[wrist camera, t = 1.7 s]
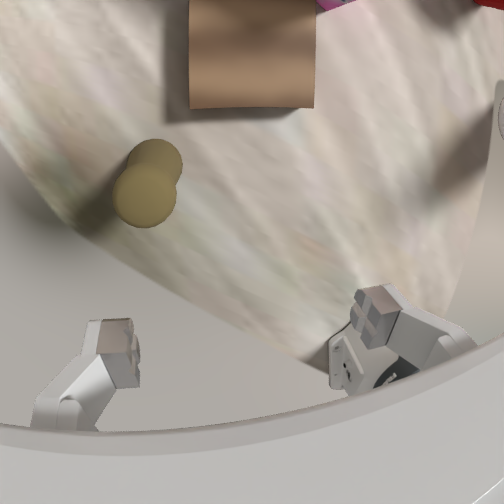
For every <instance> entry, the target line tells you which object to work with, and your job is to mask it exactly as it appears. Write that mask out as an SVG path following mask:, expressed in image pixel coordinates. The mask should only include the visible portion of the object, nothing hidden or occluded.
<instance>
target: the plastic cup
mask: <svg viewBox="0 0 504 504" xmlns="http://www.w3.org/2000/svg"><path fill="white" fill-rule="evenodd" d="M473 1H474V2H475V3H477V4H479V5H482V6H486V7H492V8H496V9H500V10H504V0H473Z"/></svg>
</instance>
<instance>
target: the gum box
mask: <svg viewBox="0 0 504 504" xmlns="http://www.w3.org/2000/svg"><path fill="white" fill-rule="evenodd" d="M352 1H356V0H316V2H317V3H318V4H320V5H321V6H322V7H323V8H324V9H325V10H326V11H329V10H331V9H334V8H336V7H339V6H342V5H344V4H347V3H350V2H352Z"/></svg>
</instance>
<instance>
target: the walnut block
mask: <svg viewBox="0 0 504 504" xmlns="http://www.w3.org/2000/svg"><path fill="white" fill-rule="evenodd" d="M315 51H316V0H189V107H190V109H203V108H225V107H292V108H314V89H315Z"/></svg>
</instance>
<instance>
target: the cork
mask: <svg viewBox="0 0 504 504" xmlns="http://www.w3.org/2000/svg"><path fill="white" fill-rule="evenodd" d="M182 165H183V163H182V159H181V155H180V154H179V152H178V150H177V149H176V148H175V147H174V146H173V145H172V144H171V143H169V142H167V141H164V140H162V139H150V140H146V141H143V142H141V143H140V144H138V145H137V146H136V147H135V148H134V149H133V150H132V152H131V153H130V155H129V158H128V160H127V165H126V170H124V171H123V172H122V173H121V175H120V176H119V177H118V178H117V180H116V181H115V184H114V187H113V190H112V202H113V205H114V209H115V211H116V213H117V214H118V216H119V217H120V218H121V219H122V220H123V221H124V222H126V223H127V224H128V225H131V226H134V227H137V228H150V227H154V226H157V225H159V224H160V223H162V222H164V221H165V220H166V218H167V217H168V216H169V215H170V214H171V213H172V211H173V208H174V206H175V204H176V194H177V191H176V187H175V185H176V183H177V182H178V180H179V177H180V175H181V173H182Z"/></svg>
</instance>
